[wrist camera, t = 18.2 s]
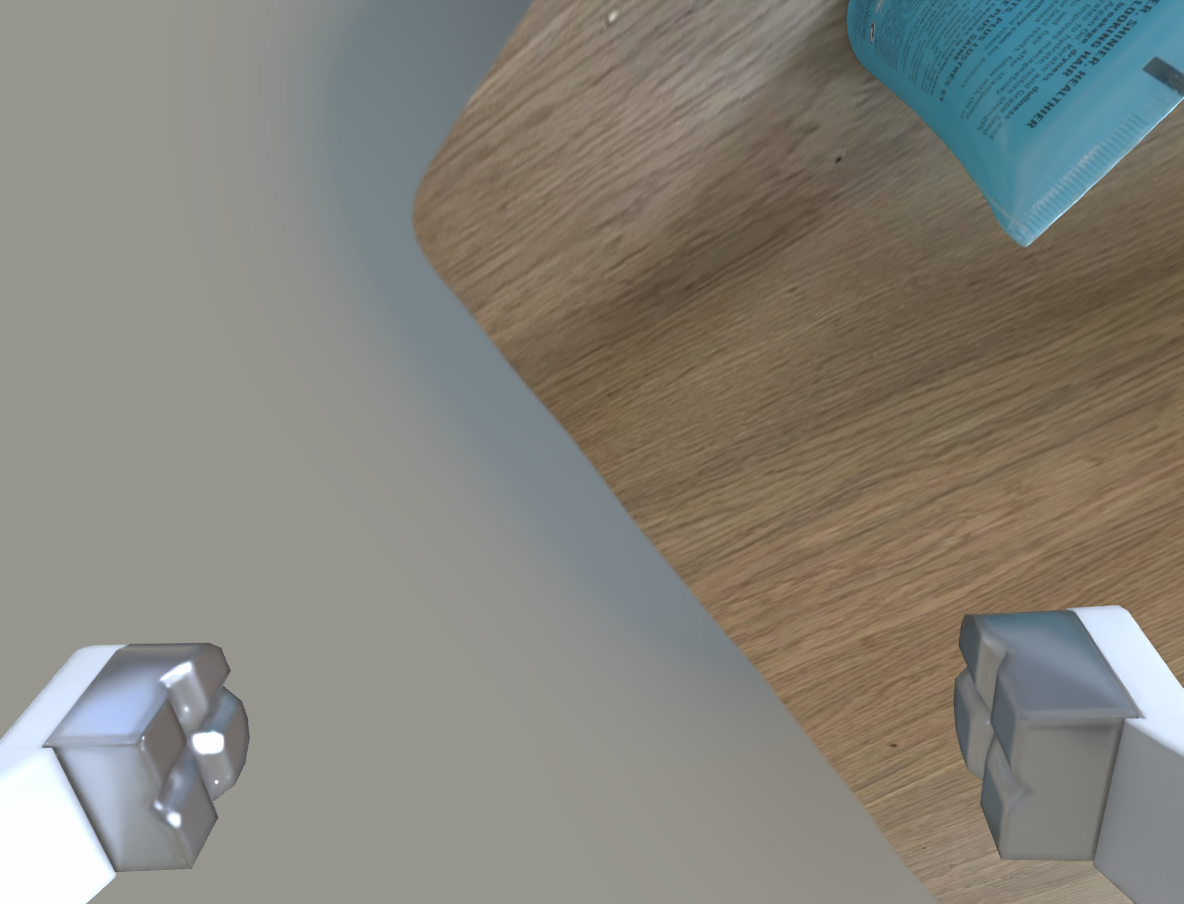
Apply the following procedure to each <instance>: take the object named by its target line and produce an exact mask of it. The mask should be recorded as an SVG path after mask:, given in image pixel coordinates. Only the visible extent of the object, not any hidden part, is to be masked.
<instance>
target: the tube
mask: <svg viewBox="0 0 1184 904" xmlns="http://www.w3.org/2000/svg"><path fill="white" fill-rule="evenodd" d="M847 31H848V37H849V41H850V44H851V47H852V49H853V51H854V53H855V55H856V57H857V59H858V60H859V62H860V63H861V64H862V65H863V66H864V67H865V69H867V70H868V71H869V72H870V73H871V74H872V75H873V76H875V77H876V78H877V79H878V80H880V81H881V82H882V83H883V84H884V85H886V86H887V87H888V88H889V89H890V90H891V91H892V92H894V93H895V94H896V95H897V96H898V97H899V98H900V99H901V100H903V101H904V102H905V103H906V104H907V105H908V106H909V107H910V108H911V109H912V110H914V111H915V112H916V113H917V114H918V115H919V116H920V117H921V119H922V120H923V121H924V122H925V123H926V124H927V125H928V126H929V127H930V128H931V129H932V130H933V131H934V132H935V133H936V134H937V135H938V136H939V138H940V139H941V140H942V141H943V142H944V143H945V144H946V146H947V147H948V148H949V149H950V150H951V151H952V153H953V154H954V155H955V156H956V158H957V159H958V160H959V161H960V163H961V164H962V166H963V167H964V168H965V170H966V171H967V172H968V174H969V175H970V177H971V178H972V179H973V181H974V182H975V184H976V185H977V186H978V188H979V189H980V191H981V192H982V194H983V195H984V197H985V199H986V200H987V202H988V204H989V205H990V207H991V209H992V211H993V214H994V216H995V218H996V220H997V221H998V223H999V224H1000V226H1001V228H1002V229H1003V230H1004V231H1005V232H1006V233H1007V234H1008V235H1009V236H1010V237H1011V238H1012V239H1013V240H1014V241H1015V242H1016V243H1017V244H1018V245H1020V246H1021V247H1026V246H1028V245H1030V244H1031V242H1033V241H1034V240H1035V239H1037V238H1038V237H1039V236H1040V235H1041V234H1042V233H1043V232H1044V231H1045V230H1046V229H1047V228H1048V227H1049V226H1050V225H1051V224H1052V223H1053V222H1055V221H1056V220H1057V219H1058V218H1059V217H1060V216H1061V215H1062V214H1063V213H1064V212H1066V211H1067V210H1068V209H1069V208H1070V207H1071V206H1072V205H1073V204H1074V203H1076V202H1077V201H1078V200H1079V199H1080V198H1081V197H1082V196H1083V195H1084V194H1085V193H1086V192H1087V191H1088V190H1089V189H1090V188H1091V187H1092V186H1093V185H1094V184H1095V183H1097V182H1098V181H1099V180H1100V179H1101V178H1102V177H1103V176H1104V175H1105V174H1107V173H1108V172H1109V171H1110V170H1111V169H1112V168H1113V167H1114V165H1115V164H1116V163H1117V162H1118V161H1119V160H1120V159H1122V158H1123V157H1124V156H1125V155H1126V154H1127V153H1128V152H1129V151H1131V150H1132V149H1133V148H1134V147H1135V146H1136V145H1137V144H1138V143H1139V142H1140V141H1141V140H1142V139H1143V138H1144V137H1145V136H1146V135H1147V134H1148V133H1149V132H1150V131H1151V130H1152V129H1153V128H1154V127H1155V126H1156V125H1157V124H1158V123H1159V122H1160V121H1161V120H1162V119H1163V118H1164V117H1165V116H1167V115H1168V114H1169V113H1170V112H1171V111H1172V110H1173V109H1174V108H1175V107H1176V106H1177V105H1178V104H1179V103H1180V102H1181V101H1182V100H1183V98H1184V0H849V4H848V10H847Z"/></svg>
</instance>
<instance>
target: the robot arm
mask: <svg viewBox="0 0 1184 904" xmlns="http://www.w3.org/2000/svg"><path fill="white" fill-rule="evenodd" d="M959 647H960V650H961V652H962V655H963V657H964V660H965V662H966V664H967V667H966V668H965V669H964V670H963V671H962V672H961V673H960V674H959V675H958V676H957V677H956V678H955V690H954V714H955V725H956V732H957V736H958V741H959V745H960V749H961V752H962V755H963V758H964V761H965V764H966V766H967V769H968V770H969V771H971V772H972V773H973V774H975V775H976V776H977V777H978V778H980V779H981V780H982V781H983V785H982V794H981V803H980V805H981V807H982V810H983V813H984V815H985V818H986V821H987V823H988V826H989V829H990V831H991V834H992V836H993V839H994V842H995V844H996V847H997V850H998V852H999V855H1000V858H1001V860H1054V861H1094V864H1093V866H1094V867H1096V868H1097V869H1098V870H1099V871H1100V872H1101V873H1102V874H1103V875H1104V876H1105V877H1106V878H1108V879H1109V880H1110V881H1111V882H1112V883H1113V884H1114V885H1115V886H1116V887H1117V888H1118V889H1120V890H1121V891H1122V892H1123V893H1124V894H1125V895H1126V896H1127V897H1128V898H1129V899H1131V900H1132V901H1133V902H1134V903H1135V904H1184V689H1183V688H1182V686H1181V685H1180V684H1179V682H1178V681H1177V679H1176V678H1175V677H1174V675H1173V674H1172V672H1171V671H1170V670H1169V668H1168V667H1167V665H1166V664H1165V663H1164V661H1163V660H1162V658H1161V657H1160V656H1159V654H1158V653H1157V651H1156V650H1155V649H1154V647H1153V646H1152V644H1151V643H1150V641H1149V640H1148V639H1147V637H1146V636H1145V634H1144V633H1143V632H1142V630H1141V629H1140V627H1139V626H1138V625H1137V623H1136V622H1135V620H1134V619H1133V618H1132V616H1131V615H1130V613H1129V612H1128V611H1127V610H1126V609H1124V608H1122V607H1120V606H1119V605H1112V606H1096V607H1080V608H1067V609H1066V610H1050V611H1027V612H1004V613H982V614H965V616H964V619H963V621H962V624H961V629H960V637H959ZM230 671H231V670H230V668H229V666H228V663H227V661H226V659H225V656H224V654H223V651H222V649H221V648H220V647H218V646H215V645H213V644H211V643H175V644H130V645H94V646H87V647H85V648H82V649H80V650H77V651H75V652H74V653H73V654H72V656H71V657H70V658H69V659H68V660H67V662H66V663H65V664H64V665H63V666H62V667H61V669H60V670H59V671H58V672H57V673H56V675H55V676H54V677H53V678H52V679H51V681H50V682H49V683H48V684H47V685H46V687H45V688H44V689H43V690H42V691H41V692H40V693H39V695H38V696H37V697H36V698H35V699H34V701H33V702H32V703H31V704H30V705H29V707H28V708H27V709H26V710H25V711H24V712H23V714H22V715H21V716H20V717H19V718H18V720H17V721H16V722H15V723H14V724H13V725H12V727H11V728H10V729H9V730H8V731H7V733H6V734H5V735H4V736H3V737H2V738H1V740H0V904H86V903H87V902H88V901H89V900H90V899H92V898H93V897H94V896H95V895H96V894H97V893H98V892H99V891H100V890H101V889H103V888H104V887H105V886H106V885H107V884H108V883H109V882H110V881H111V880H113V879H114V878H115V877H116V873H115V872H125V871H150V870H174V869H192V867H193V865H194V863H195V861H196V859H197V857H198V856H199V854H200V852H201V850H202V848H203V846H204V844H205V842H206V840H207V838H208V836H209V834H210V832H211V830H212V828H213V826H214V825H215V822H216V821H217V819H218V815H217V812H216V809H215V806H214V802H213V801H214V800H216V799H217V798H218V797H220V796H221V795H222V794H224V793H225V792H226V791H227V790H229V789H230V788H231V787H233V786H234V785H235V783H236V782H237V779H238V777H239V775H240V773H241V771H242V769H243V767H244V765H245V761H246V756H247V750H248V744H249V739H250V737H249V727H248V718H247V715H246V712H245V709H244V706H243V703H242V701H241V700H240V699H238V698H237V697H236V696H235V695H233V694H232V693H231V692H230V691H229V690H227V689H226V688H225V687H224V686H223V685H224V683H225V681H226V679H227V677H228V675H229V673H230Z"/></svg>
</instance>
